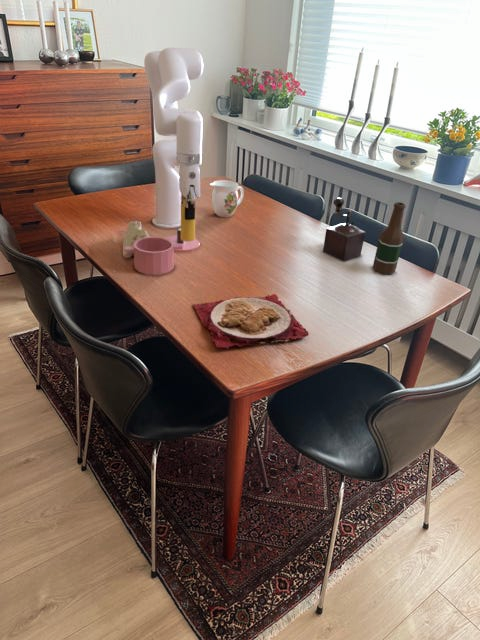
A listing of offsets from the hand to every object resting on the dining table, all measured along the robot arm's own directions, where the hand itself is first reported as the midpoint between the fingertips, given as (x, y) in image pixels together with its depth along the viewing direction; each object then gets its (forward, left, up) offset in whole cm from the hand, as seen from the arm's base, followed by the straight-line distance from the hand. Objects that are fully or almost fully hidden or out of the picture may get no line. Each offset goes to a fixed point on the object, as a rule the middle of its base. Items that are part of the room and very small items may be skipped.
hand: (188, 215), depth 157 cm
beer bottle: (+17, +66, -16) cm, 70 cm away
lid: (-14, +1, -16) cm, 21 cm away
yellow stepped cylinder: (0, 0, -8) cm, 8 cm away
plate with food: (+41, +9, -16) cm, 45 cm away
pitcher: (-44, +26, -16) cm, 54 cm away
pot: (+2, -11, -16) cm, 20 cm away
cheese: (-12, -16, -16) cm, 26 cm away
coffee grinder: (-1, +57, -16) cm, 59 cm away
